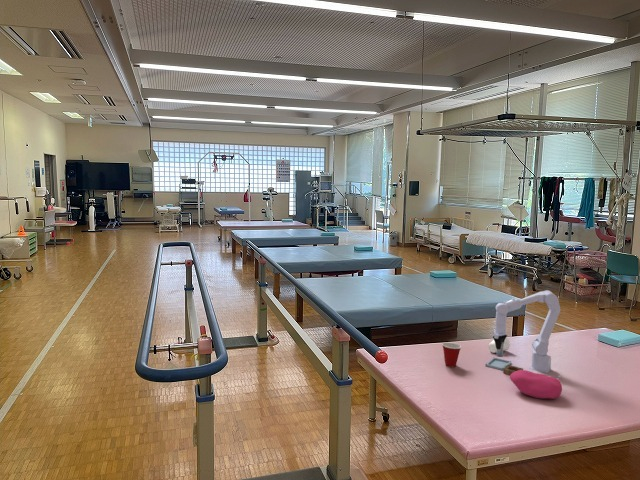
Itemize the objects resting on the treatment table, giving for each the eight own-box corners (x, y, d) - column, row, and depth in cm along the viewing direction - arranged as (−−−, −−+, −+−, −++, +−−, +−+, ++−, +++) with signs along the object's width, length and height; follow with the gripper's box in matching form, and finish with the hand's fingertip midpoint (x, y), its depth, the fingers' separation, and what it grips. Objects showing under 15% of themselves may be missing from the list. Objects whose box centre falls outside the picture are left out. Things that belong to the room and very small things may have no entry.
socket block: (522, 373, 253) (523, 368, 252) (518, 377, 246) (519, 372, 246) (507, 369, 258) (508, 364, 257) (503, 374, 251) (503, 369, 251)
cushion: (503, 388, 231) (506, 369, 229) (521, 379, 243) (524, 361, 241) (550, 409, 214) (554, 389, 212) (566, 399, 226) (571, 380, 224)
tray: (511, 364, 266) (511, 361, 266) (503, 371, 255) (503, 368, 255) (493, 360, 272) (493, 357, 272) (485, 366, 261) (485, 364, 261)
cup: (501, 348, 277) (512, 342, 283) (488, 337, 283) (499, 331, 289) (495, 359, 283) (506, 353, 289) (482, 348, 289) (493, 342, 295)
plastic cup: (465, 366, 262) (466, 345, 261) (452, 370, 256) (453, 349, 254) (449, 360, 271) (450, 340, 269) (437, 364, 264) (437, 343, 263)
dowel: (504, 356, 262) (504, 342, 262) (500, 357, 260) (501, 343, 259) (498, 354, 265) (499, 340, 264) (495, 355, 263) (495, 342, 262)
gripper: (497, 320, 269) (496, 343, 271) (489, 326, 258) (487, 349, 259) (510, 322, 265) (508, 345, 266) (502, 328, 253) (500, 352, 255)
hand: (499, 348), depth 262 cm, fingers closed on dowel, 3 cm apart
